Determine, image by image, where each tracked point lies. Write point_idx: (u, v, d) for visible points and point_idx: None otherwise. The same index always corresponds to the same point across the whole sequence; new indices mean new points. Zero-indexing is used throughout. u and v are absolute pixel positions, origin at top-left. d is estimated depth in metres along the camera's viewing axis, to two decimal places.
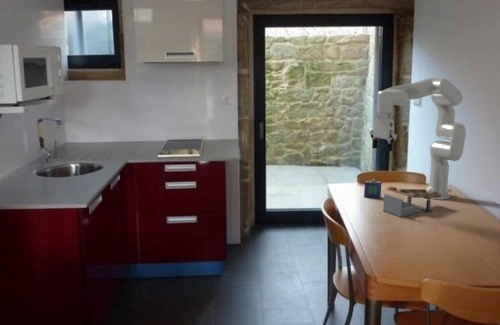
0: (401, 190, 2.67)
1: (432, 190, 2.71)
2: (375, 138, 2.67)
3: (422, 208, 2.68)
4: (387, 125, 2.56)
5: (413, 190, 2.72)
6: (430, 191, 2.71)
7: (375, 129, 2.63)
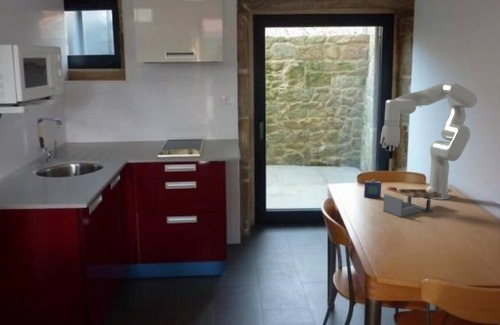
0: (401, 190, 2.67)
1: (432, 190, 2.71)
2: None
3: (422, 208, 2.68)
4: (399, 131, 2.73)
5: (413, 190, 2.72)
6: (430, 191, 2.71)
7: (389, 138, 2.70)
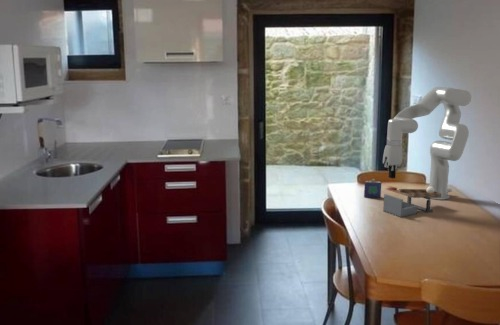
0: (401, 190, 2.67)
1: (432, 190, 2.71)
2: None
3: (422, 208, 2.68)
4: (402, 151, 2.71)
5: (413, 190, 2.72)
6: (430, 191, 2.71)
7: (392, 157, 2.67)
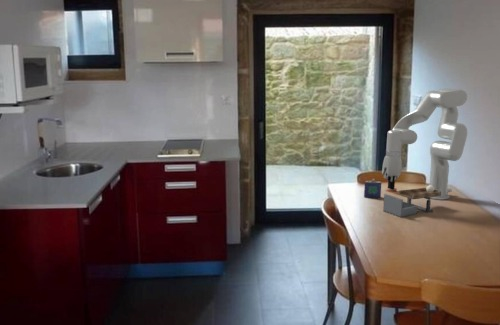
0: (401, 192, 2.67)
1: (432, 189, 2.71)
2: None
3: (422, 208, 2.68)
4: (401, 162, 2.72)
5: (413, 190, 2.72)
6: (430, 190, 2.71)
7: (391, 168, 2.68)
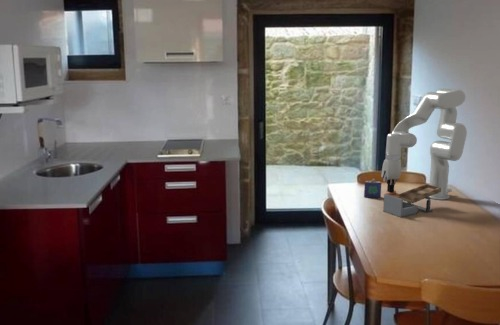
0: (400, 195, 2.68)
1: None
2: None
3: (422, 208, 2.68)
4: (400, 165, 2.72)
5: (412, 190, 2.72)
6: None
7: (391, 172, 2.68)
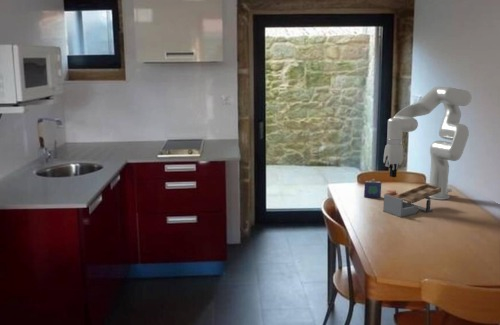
0: (400, 195, 2.68)
1: None
2: None
3: (422, 208, 2.68)
4: (402, 149, 2.71)
5: (412, 190, 2.72)
6: None
7: (392, 157, 2.67)
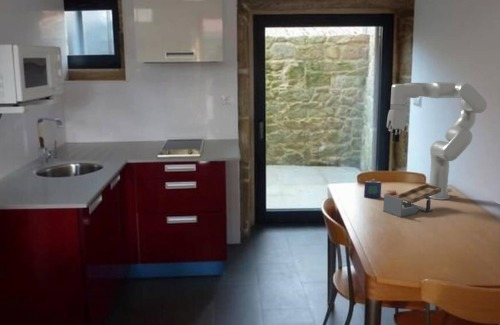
0: (400, 195, 2.68)
1: (402, 208, 2.61)
2: None
3: (422, 208, 2.68)
4: (405, 115, 2.79)
5: (412, 190, 2.72)
6: None
7: (395, 121, 2.76)
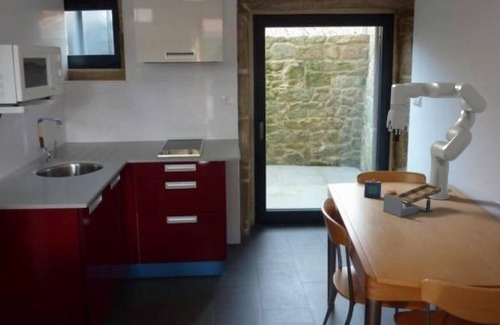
0: (400, 195, 2.68)
1: (404, 207, 2.62)
2: None
3: (422, 208, 2.68)
4: (405, 115, 2.79)
5: (412, 190, 2.72)
6: None
7: (395, 121, 2.76)
